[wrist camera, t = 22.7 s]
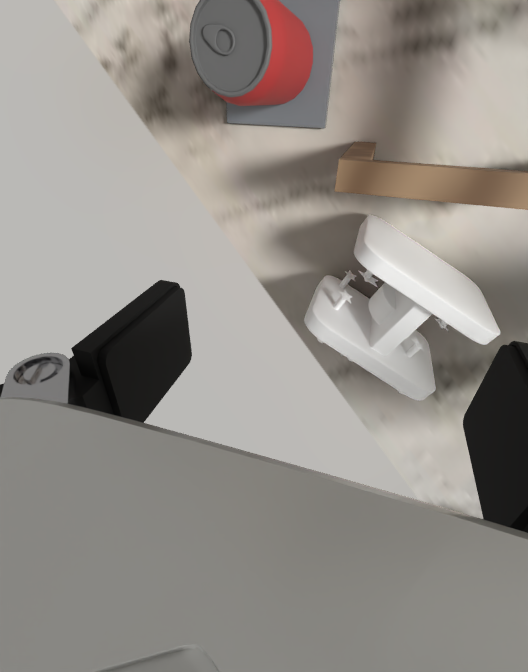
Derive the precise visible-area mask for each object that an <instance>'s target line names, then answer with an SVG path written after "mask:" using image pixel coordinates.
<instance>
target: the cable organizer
mask: <svg viewBox="0 0 528 672" xmlns="http://www.w3.org/2000/svg"><path fill="white" fill-rule="evenodd" d="M354 255H355V257H356V259H357V260H358V261H359V262H360V263H361V265H363V266H364V267H365V268H366V269H367V271H366V272H365V273H363V272H360V271H359V273H360V274H361V275H362V276H363V277H364V280H365V281H367V282H370V283H371V284H373V285H374V286H376V287H377V285H376V283H375V282H376V281H378V280H376V279H375V278H373V277H371V276H372V275H373V274H374V275H375V276H377V277H378V278H380V279H381V280H383V281H384V282H385V283H384V284H383V285H382V286H381V287H380V288H379V289H378V290H377V291H376V293H375V294H374V295H373V296H372V297H371V298H370V299H369V298H368V297H366V296H365V295H363V294H362V293H360V292H359V291H357V290H356V289H354V288H353V287H351V286H349V285H348V282H349V281H350V280H351V279H352V280H354V281H355V279H354V278H355V277H357V276H355V275H353V274H352V273H351V271H350V270H349V272H346V271H344V272H345V273H346V274H347V275H346V276H345V278H344V279H343V280H340V279H338V278H336V277H333V276H330V275H326V276H324V278H323V279H322V280H321V282H320V283H319V284H318V286H317V288H316V290H315V293H314V295H313V297H312V300H311V302H310V305H309V307H308V310H307V312H306V315H305V317H304V322H305V325H306V326H307V328H308V329H309V331H310V332H311V333H312V334H313V335H314V336H316V337H317V340H318V341H319V342H321V343H323V342H324V343H325V344H327V345H329V346H330V347H332V348H333V349H335V350H336V351H337V352H339V353H341V356H343V355H344V356H346V357H347V358H348V360H349V361H351V362H352V361H353V362H355V363H356V364H358V365H359V366H361V367H362V368H364V369H366V371H369V372H370V373H372V374H373V375H375V376H376V377H378V378H379V379H381V381H382V380H383V381H384V382H386V383H387V384H389V385H390V386H392V387H393V388H395V389H396V390H398V393H400V394H404V395H406V396H407V397H409V398H411V399H414V400H418V401H421V400H423V399H425V398H426V397H428V396H429V395H430V394H432V393H433V392H434V391H435V390H436V386H435V379H434V373H433V366H432V360H431V353H430V347H429V344H428V342H427V340H426V339H425V338H424V337H423V336H422V335H421V334H420V333H419V332H418V331H417V330H416V329H417V328H418V327H419V326H420V325H421V324H422V323H423V322H424V321H425V320H427V319H428V318H429V317H430V316H431V315H432V314H433V315H435V316H436V317H438V319H435V318H434V319H435V320H436V321H437V322H438V323H439V325H440V328H441V329H442V328H445V329H446V330H447V331H448V329H447V328H446V326H447V325H450V326H451V327H453V328H454V329H456V330H457V331H459V332H460V333H462V334H463V335H465V336H466V337H468V338H469V339H471V340H473V341H475V342H477V343H479V344H482V345H486V344H488V343H489V342H490V341H492V340H493V339H495V338H496V337H497V336H499V335H500V330H499V328H498V325H497V323H496V321H495V319H494V317H493V315H492V313H491V311H490V309H489V306H488V304H487V302H486V300H485V298H484V296H483V294H482V292H481V290H480V289H479V287H478V286H477V285H476V284H475V283H474V282H473V281H472V280H470V279H469V278H468V277H467V276H465V275H464V274H463V273H461V272H460V271H458V270H457V269H455V268H454V267H452V266H451V265H449V264H448V263H446V262H445V261H443V260H442V259H441V258H439V257H438V256H436V255H435V254H433V253H432V252H430V251H429V250H427V249H426V248H424V247H423V246H421V245H420V244H418V243H417V242H416V241H414V240H413V239H411V238H410V237H408V236H407V235H405V234H404V233H402V232H401V231H399V230H398V229H396V228H395V227H394V226H392V225H391V224H389V223H388V222H386V221H384V220H383V219H381V218H379V217H377V216H374V215H368V216H367V218H366V219H365V220H364V222H363V223H362V224H361V226H360V229H359V232H358V236H357V240H356V244H355V248H354ZM355 282H356V281H355ZM448 332H449V331H448Z"/></svg>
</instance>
